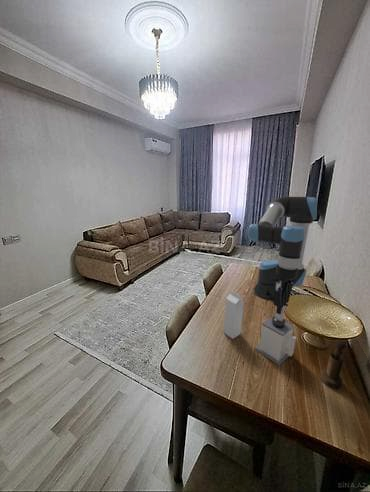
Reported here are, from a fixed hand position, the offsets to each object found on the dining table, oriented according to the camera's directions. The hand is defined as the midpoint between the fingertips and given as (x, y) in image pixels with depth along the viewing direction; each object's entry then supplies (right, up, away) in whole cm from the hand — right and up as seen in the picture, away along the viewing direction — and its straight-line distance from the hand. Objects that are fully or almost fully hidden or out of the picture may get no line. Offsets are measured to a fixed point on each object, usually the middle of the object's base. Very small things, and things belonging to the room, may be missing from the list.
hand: (278, 319), depth 87 cm
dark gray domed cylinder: (0, -13, +4) cm, 14 cm away
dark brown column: (+15, -20, -9) cm, 27 cm away
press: (0, -16, +5) cm, 16 cm away
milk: (-16, -13, +16) cm, 26 cm away
